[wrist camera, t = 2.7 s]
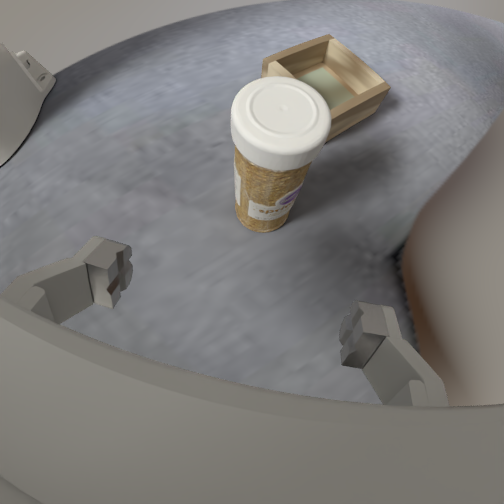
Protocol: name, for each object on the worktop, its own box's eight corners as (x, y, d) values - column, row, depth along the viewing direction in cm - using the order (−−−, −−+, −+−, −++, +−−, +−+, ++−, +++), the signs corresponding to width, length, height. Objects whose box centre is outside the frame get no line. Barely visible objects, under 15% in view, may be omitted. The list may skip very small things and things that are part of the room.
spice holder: (260, 89, 28) (263, 58, 23) (320, 61, 29) (328, 34, 25) (317, 147, 27) (329, 120, 22) (374, 112, 28) (390, 87, 24)
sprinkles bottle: (269, 244, 25) (300, 172, 12) (223, 213, 25) (208, 116, 12) (299, 201, 26) (350, 105, 12) (255, 172, 26) (268, 59, 13)
